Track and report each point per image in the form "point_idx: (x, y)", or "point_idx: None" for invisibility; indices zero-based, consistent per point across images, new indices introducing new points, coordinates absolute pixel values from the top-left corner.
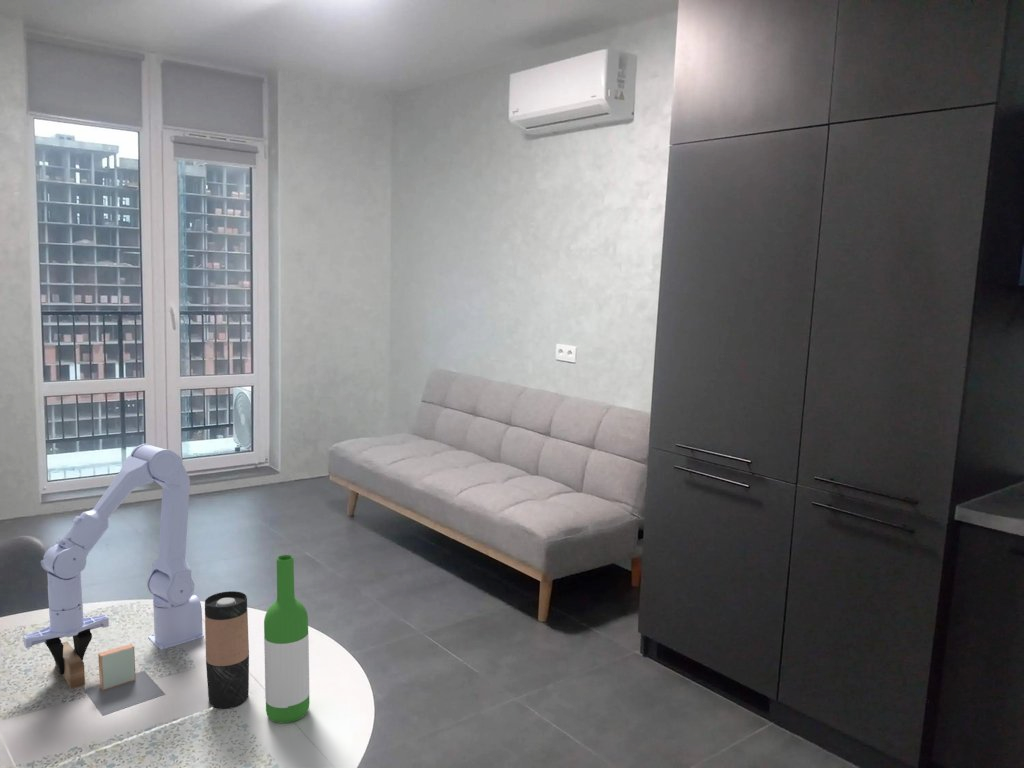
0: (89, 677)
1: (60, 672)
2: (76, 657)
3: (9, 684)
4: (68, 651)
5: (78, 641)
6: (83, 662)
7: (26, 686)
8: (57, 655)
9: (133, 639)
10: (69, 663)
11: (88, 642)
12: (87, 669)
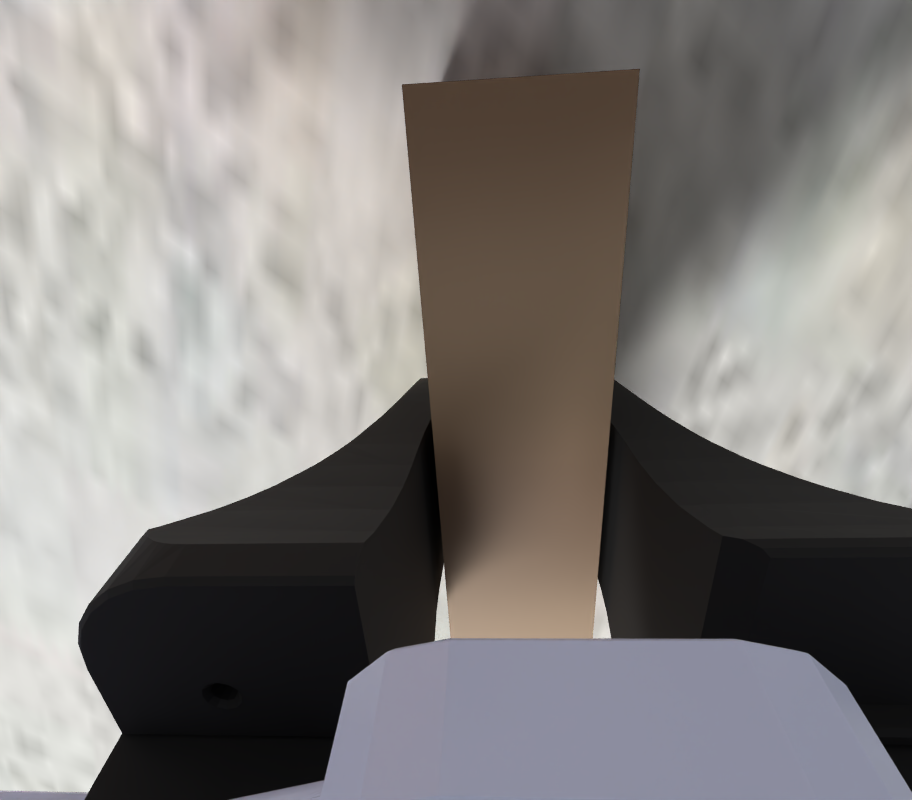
0: (372, 270)
1: None
2: (464, 371)
3: None
4: (508, 582)
5: (385, 580)
6: (407, 104)
7: (821, 435)
8: (728, 472)
9: (50, 646)
10: (603, 224)
11: (229, 511)
12: (367, 426)
